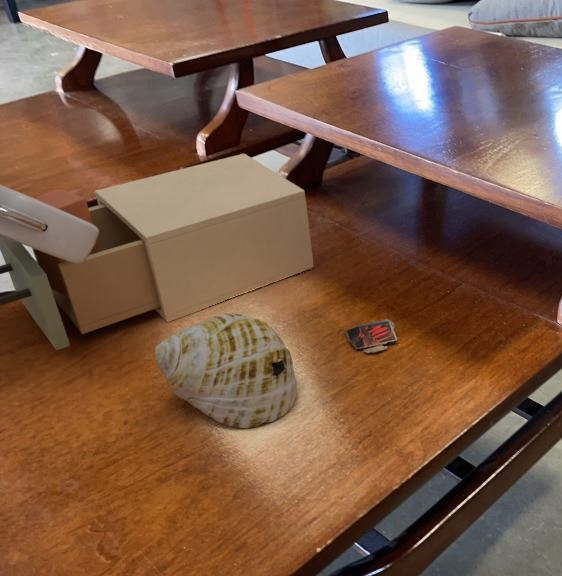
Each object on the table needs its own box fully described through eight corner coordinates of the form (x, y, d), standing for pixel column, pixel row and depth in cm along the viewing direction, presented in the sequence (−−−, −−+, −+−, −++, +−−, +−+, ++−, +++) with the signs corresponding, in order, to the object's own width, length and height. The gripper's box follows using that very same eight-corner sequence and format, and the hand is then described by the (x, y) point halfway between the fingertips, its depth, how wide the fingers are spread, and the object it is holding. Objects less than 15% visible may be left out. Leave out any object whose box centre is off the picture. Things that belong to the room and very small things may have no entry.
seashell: (321, 403, 64) (250, 333, 58) (224, 469, 64) (141, 405, 57) (296, 335, 72) (231, 265, 65) (208, 392, 71) (133, 328, 64)
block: (71, 298, 72) (44, 213, 67) (45, 286, 74) (17, 202, 69) (109, 280, 75) (85, 198, 70) (83, 269, 77) (59, 188, 72)
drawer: (3, 370, 67) (-28, 295, 63) (-33, 311, 74) (-62, 241, 70) (218, 292, 79) (204, 225, 74) (169, 249, 86) (154, 185, 82)
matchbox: (340, 333, 74) (340, 329, 74) (387, 318, 77) (387, 314, 77) (362, 358, 71) (361, 354, 71) (410, 340, 74) (410, 336, 73)
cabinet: (167, 322, 75) (145, 237, 70) (116, 270, 83) (94, 190, 78) (314, 268, 85) (304, 190, 80) (256, 226, 93) (244, 153, 88)
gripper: (19, 171, 56) (158, 236, 69) (-124, 117, 65) (23, 184, 77) (-23, 247, 55) (126, 300, 68) (-163, 183, 64) (-7, 240, 76)
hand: (70, 238), depth 72 cm, fingers closed on block, 4 cm apart
